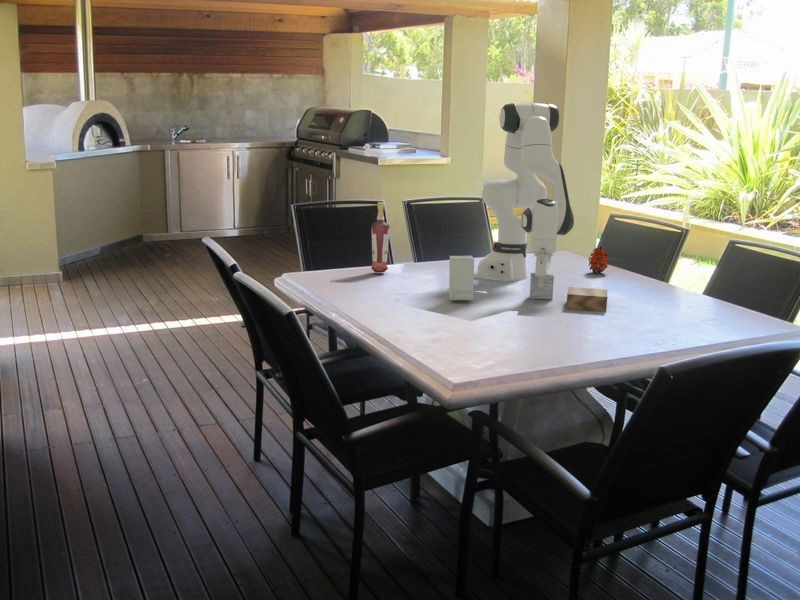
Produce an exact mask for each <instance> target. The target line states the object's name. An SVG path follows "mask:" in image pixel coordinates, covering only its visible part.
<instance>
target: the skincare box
mask: <svg viewBox="0 0 800 600" xmlns="http://www.w3.org/2000/svg"><path fill="white" fill-rule="evenodd" d="M448 265H449V277H448V278H449V279H448V280H449V281H448V282H449V285H448V287H449V289H448V291H449V293H448V294H449V295H448V296H449V298H450V300H451V301H455V300H457V301H459V300H464V301H465V300H466V301H467V300H468V301H469V300H471V301H472V300H474V287H475V285H474V284H475V283H474V281H475V280H474V279H475V278H474V271H475V258H474V257H473V255H449V264H448Z"/></svg>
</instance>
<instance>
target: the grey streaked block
mask: <svg viewBox="0 0 800 600" xmlns="http://www.w3.org/2000/svg"><path fill="white" fill-rule="evenodd" d="M554 278H555V276H554V274H553V273H549V272H547V274H546V277H545V278H544V286H543V287H538V277H536V276H535V272H531V273H530V284H529V299H530V300H531V299H532V300H553V297H554V295H553V293H554V282H555V280H554Z"/></svg>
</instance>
